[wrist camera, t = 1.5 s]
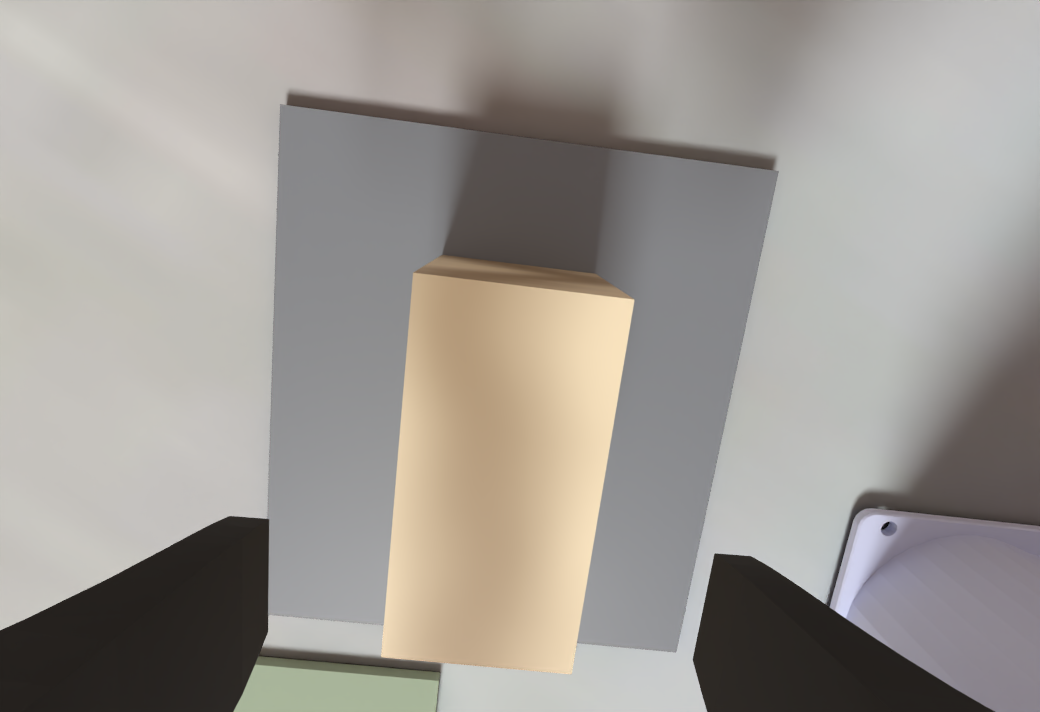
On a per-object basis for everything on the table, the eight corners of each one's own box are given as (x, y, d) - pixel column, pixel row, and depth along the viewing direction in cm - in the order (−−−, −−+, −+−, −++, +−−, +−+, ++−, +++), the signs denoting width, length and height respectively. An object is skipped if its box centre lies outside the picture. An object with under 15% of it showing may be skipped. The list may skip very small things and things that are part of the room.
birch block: (595, 273, 18) (634, 299, 12) (553, 548, 20) (571, 674, 14) (442, 254, 17) (413, 272, 12) (415, 534, 19) (381, 657, 14)
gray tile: (772, 171, 17) (779, 171, 17) (673, 644, 21) (676, 653, 21) (285, 106, 17) (279, 103, 16) (268, 606, 20) (263, 615, 20)
